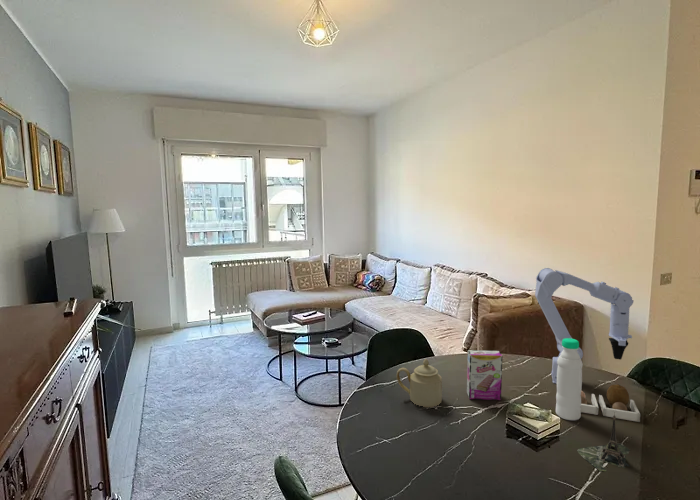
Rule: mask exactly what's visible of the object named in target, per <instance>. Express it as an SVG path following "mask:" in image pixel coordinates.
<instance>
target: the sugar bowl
mask: <svg viewBox="0 0 700 500" xmlns="http://www.w3.org/2000/svg"><path fill="white" fill-rule="evenodd" d="M429 364H430V363H429V360H428V359H427V358H425V359H424V360H423V363H422V364H420V365H418V366H417V367H415V368H414V369H413V372H412V373H411V372H410V370H408V368H406V367H400V368H398V370H397V371H396V380H397V381H396V382H397V383H398V384H399V386H400V387H401V388H402V390H403V391H405V392H406V393H407V394H408V395H409V398H410V402H411V401H412V402H413V403H414V404H413V403H412V402H411V403H412V404H413V405H415V404H416V405H415V406H417V405H419V406H418V407H420V406H423V407H422V408H429V407H430V408H435V407H438V406H440V405H439V404H440V403H441V404H442V400H443V399H442V398H443V377H442V376H441V375H440V374H439V370H438V369H437V368H436V367H434V366H432V365H429ZM401 372H404V373H405V374H406V376H407V379H408V382H409V388H408V387H407V386H405V385H404V383H402V381H401V378H400V373H401ZM437 405H438V406H437ZM434 406H435V407H434Z"/></svg>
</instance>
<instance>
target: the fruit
mask: <svg viewBox="0 0 700 500" xmlns="http://www.w3.org/2000/svg"><path fill="white" fill-rule="evenodd" d="M606 398H607V401H608V403H609V404H610V405H611V406H613V404H614V403H616V402H621V403H623V404H625V405H626V406H627V405H628V403H630V394H629V392H628V390H627V389H626V387H625V386H623V385H620V384H618V383H617V384H611V385H610V386H609V387H608V388H607V390H606Z"/></svg>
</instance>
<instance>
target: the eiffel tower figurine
mask: <svg viewBox="0 0 700 500" xmlns="http://www.w3.org/2000/svg"><path fill="white" fill-rule="evenodd" d="M616 419H617V418H616V416H615V412H614V416H613V417H612V426H611V427H612V428H611V436H610V438H609V441H608V443H606V444H603V445H594V446H587V447H579V448H578V449H577V453H578V454H579V455H580V456H581V457H582V458H583V459H584V460H585V461H587V462H588V464H590V465H592V466H593V467H594V468H595V469H597V470H598V471H599V472H607V471H608V470H607V469H606V468H605V467H604V463H607V464H610V465H613V466H617V467H619V468H623V469H625V468H626V467H630V464H629V463H627V460H626V459H627V456H625V455H628V454H630V452H631V450H630V449H629V448H628V447H627V446H625V445H624V444H623V443H622V442H621V443H618V442H617V441H618V440H617V435H616Z"/></svg>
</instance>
